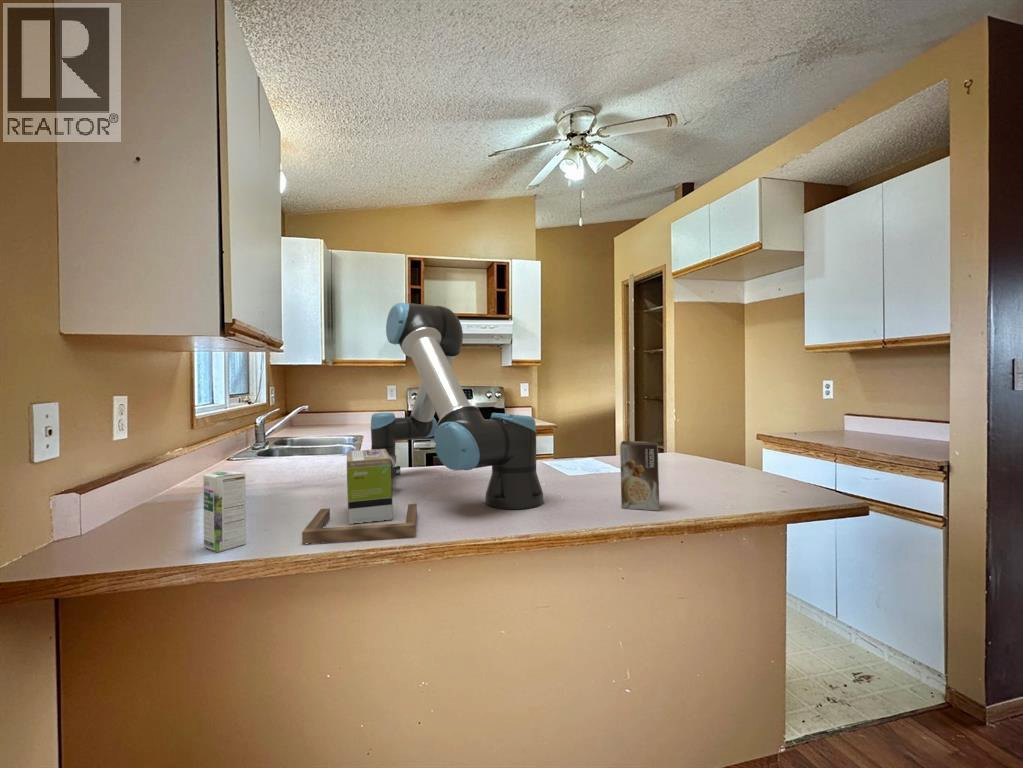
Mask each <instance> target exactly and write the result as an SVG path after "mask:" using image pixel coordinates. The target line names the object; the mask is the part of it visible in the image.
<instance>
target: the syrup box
mask: <svg viewBox="0 0 1023 768" xmlns="http://www.w3.org/2000/svg"><path fill="white" fill-rule="evenodd" d="M202 482H203V548H204V549H206V548H207V549H209V550H211V551H213V552H215V553H220V552H223V551H227V550H231V549H235V548H237V547H240V546H244V545H246V544H247V513H246V512H247V511H246V510H247V509H246V508H247V506H246V505H247V503H246V501H247V500H246V499H247V498H246V496H247V494H246V492H247V491H246V488H247V486H246V472H238V471H233V470H222V471H215V472H214V471H213V472H209V473H205V474H203V481H202Z"/></svg>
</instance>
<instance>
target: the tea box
mask: <svg viewBox="0 0 1023 768" xmlns="http://www.w3.org/2000/svg"><path fill="white" fill-rule="evenodd" d="M392 480H393V479H392V473H391V458H390V456H389V454H388V453H387V451H386V449H375V450H371V449H362V450H361V449H360V450H353V451H351V450H350V451H347V452H346V486H347V487H346V489H347V491H346V492H347V494H346V495H347V509H348V513H347V514H348V524H349V525H353V524H352V523H360V524H364V523H363V522H368V523H373V522H372V521H378V522H384V520H386V521H392V520H393V518H394V517H393V516H394V515H393V484H392V483H393V482H392Z"/></svg>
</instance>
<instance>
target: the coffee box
mask: <svg viewBox="0 0 1023 768" xmlns="http://www.w3.org/2000/svg"><path fill="white" fill-rule="evenodd" d="M658 444H659V443H658V441H641V440H640V441H637V440H636V441H633V440H626V441H625V440H622V441H621V442H620V445H619V451H620V454H619V455H620V457H619V458H620V498H621V499H620V500H621V501H620V502H621V506H620V508H621V509H625V510H626V509H627V510H643V511H644V510H645V511H658V512H659V511H660V507H661V505H660V504H661V503H660V483H659V482H660V481H659V478H660V475H659V445H658Z"/></svg>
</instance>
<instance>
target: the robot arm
mask: <svg viewBox="0 0 1023 768" xmlns="http://www.w3.org/2000/svg"><path fill="white" fill-rule="evenodd" d="M463 331H464V330H463V327H462V324H461V322H460V320H459V317H458V315H456V314H455V312H454V311H452V310H451V309H449V308H448V307H445V306H442V305H429V304H418V303H413V302H397V303H395V304H393V305H392V307H391V308H390V310H389V312H388V314H387V319H386V326H385V335H386V339H387V341H388V342H389V343H390V344H392V345H394V346H396V345H399V347H400V349H401V351H402V353H403V354H404V355H405V356H407V357H408V358H411V360H412V362H413V364H414V366H415V368H416V371H417V373H418V376H419V378H420V380H421V381H420V384H419V387H418V390H417V394H416V396H415V400H414V403H413V405H412V409H411V411H410V412H411V413H410V415H409V416H406V417H396V415H395V413H394V412H376V413H373V414H372V415H371V416H370V417H371V419H370V435H371V436H370V439H371V440H370V441H371V445H370V446H371V447H370V448H371V449H370V450H375V449H386V451H387V453H388V454H389V456H390V458H391V473H392V480H393V479H394V478H395V477H397V476H400V475H401V466H400V465H396V463H397V454H396V442H398V441H399V442H400V441H407V440H420V439H423V440H424V439H427V438H433V443H435V445H434V449H435V453H436V456H437V458H438V460H439V461H440V462H441V464H443V466H445V467H446V468H448V469H449V470H453V471H471V470H474V469H480V468H486V467H487V468H488V467H491V475H490V478H489V482H488V485H487V488H486V491H485V504H486V505H487V506H489V507H492V508H497V509H503V510H524V509H531V508H535V507H538V506H540V505H542V504H544V491H543V488H542V486H541V481H540V479H539V477H538V473H537V434H538V432H537V425H536V420H535V418H534V417H532V416H530V415H522V414H511V413H509V414H508V413H500V412H498V413H497V412H492V413H491V416H490V418H489V419H487V418H486V419H485V418H484V417H483V414H482V413H481V410H480V408H478V407H477V406H475V405H472V404H470V402H469V400H468V398H467V396H466V394H465V392H464V390H463V388H462V387H461V384H460V382H459V380H458V379H457V376H456V374H455V372H454V370H453V368H452V366H453V363H454V360H455V358H456V357H458V356H459V355H460V352H461V349H462V345H463V341H464V340H463V339H464V334H463V333H464V332H463ZM435 414H436V415H437V418H438V419H439V420H438V422H437V420H436V418H435V417H434V416H435Z"/></svg>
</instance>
